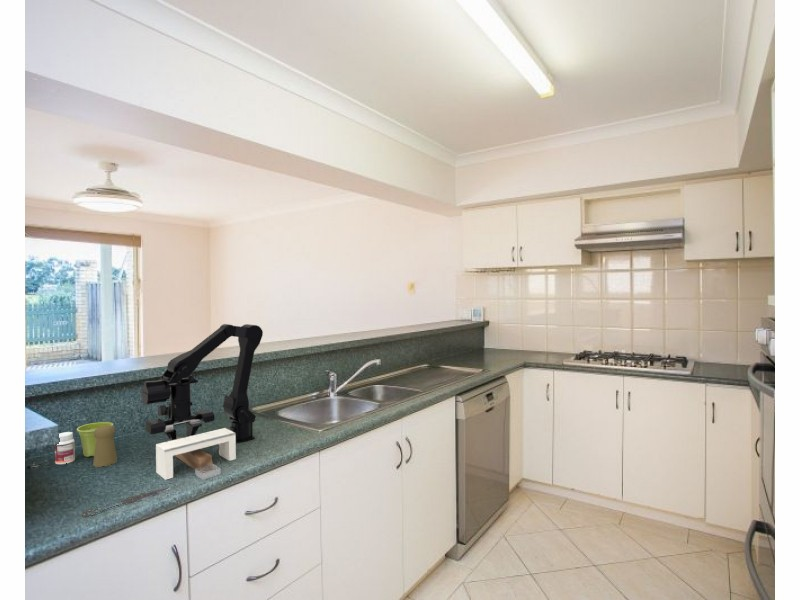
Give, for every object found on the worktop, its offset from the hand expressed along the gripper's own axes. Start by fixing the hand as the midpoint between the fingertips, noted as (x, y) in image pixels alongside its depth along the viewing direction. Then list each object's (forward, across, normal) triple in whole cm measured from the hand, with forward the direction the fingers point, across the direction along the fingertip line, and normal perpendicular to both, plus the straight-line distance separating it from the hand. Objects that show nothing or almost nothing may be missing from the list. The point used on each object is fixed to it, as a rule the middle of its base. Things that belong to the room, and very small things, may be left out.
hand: (181, 448), depth 138 cm
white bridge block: (+2, 0, +12) cm, 12 cm away
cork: (+2, +18, -10) cm, 21 cm away
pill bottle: (+2, +26, -20) cm, 33 cm away
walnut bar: (+2, 0, +6) cm, 6 cm away
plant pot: (+2, +18, -21) cm, 28 cm away
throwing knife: (+2, +20, +22) cm, 30 cm away
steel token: (+2, 0, +20) cm, 20 cm away
